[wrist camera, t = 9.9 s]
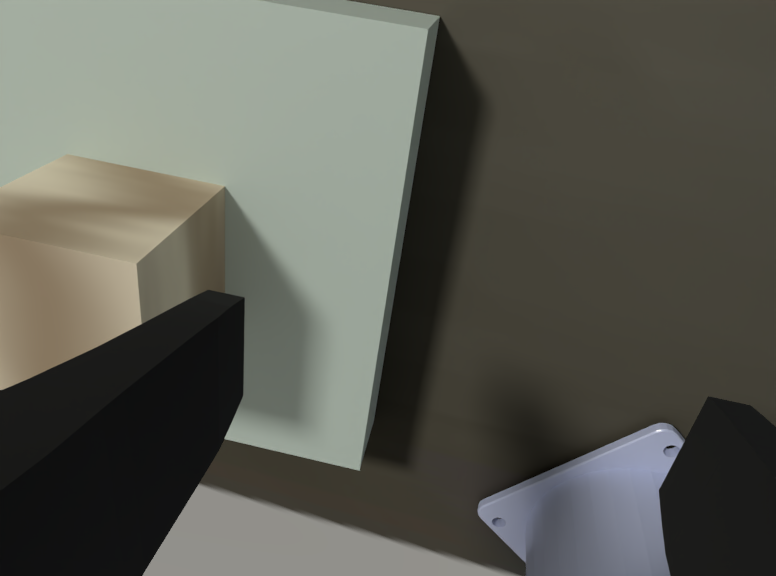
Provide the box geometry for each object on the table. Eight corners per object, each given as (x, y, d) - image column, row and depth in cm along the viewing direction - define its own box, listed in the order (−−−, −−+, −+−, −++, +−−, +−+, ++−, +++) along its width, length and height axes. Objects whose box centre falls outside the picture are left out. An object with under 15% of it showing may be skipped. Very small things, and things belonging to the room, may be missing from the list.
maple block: (225, 186, 16) (136, 263, 13) (225, 324, 19) (150, 425, 15) (67, 154, 17) (-66, 220, 13) (86, 293, 19) (-22, 384, 15)
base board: (440, 16, 16) (428, 28, 14) (374, 420, 23) (359, 470, 21) (-63, -69, 17) (-146, -69, 15) (25, 341, 24) (-23, 380, 22)
